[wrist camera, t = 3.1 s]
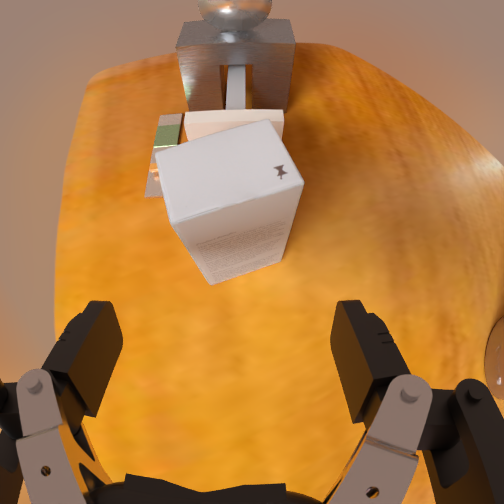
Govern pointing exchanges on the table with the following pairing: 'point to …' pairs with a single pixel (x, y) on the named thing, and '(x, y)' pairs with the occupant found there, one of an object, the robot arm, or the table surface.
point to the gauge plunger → (229, 112)
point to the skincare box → (231, 198)
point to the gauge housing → (228, 53)
